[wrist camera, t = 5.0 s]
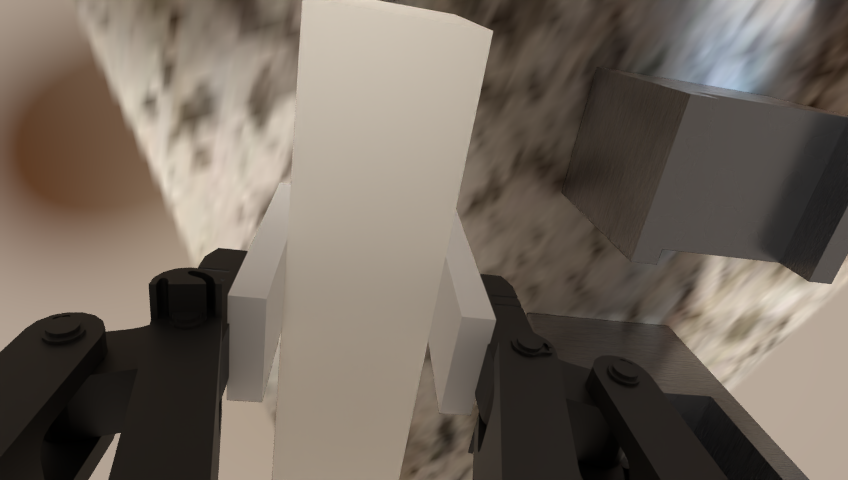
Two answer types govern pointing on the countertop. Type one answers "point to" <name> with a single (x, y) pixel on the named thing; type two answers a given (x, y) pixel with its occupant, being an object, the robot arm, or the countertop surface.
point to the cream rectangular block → (368, 226)
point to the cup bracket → (676, 389)
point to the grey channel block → (712, 173)
